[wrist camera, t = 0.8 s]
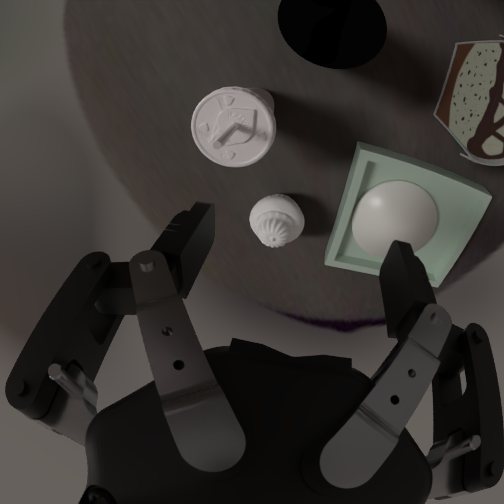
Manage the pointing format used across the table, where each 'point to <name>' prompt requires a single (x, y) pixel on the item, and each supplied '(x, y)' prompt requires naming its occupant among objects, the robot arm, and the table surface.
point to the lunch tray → (403, 213)
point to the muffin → (276, 220)
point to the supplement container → (333, 30)
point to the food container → (475, 100)
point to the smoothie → (235, 125)
